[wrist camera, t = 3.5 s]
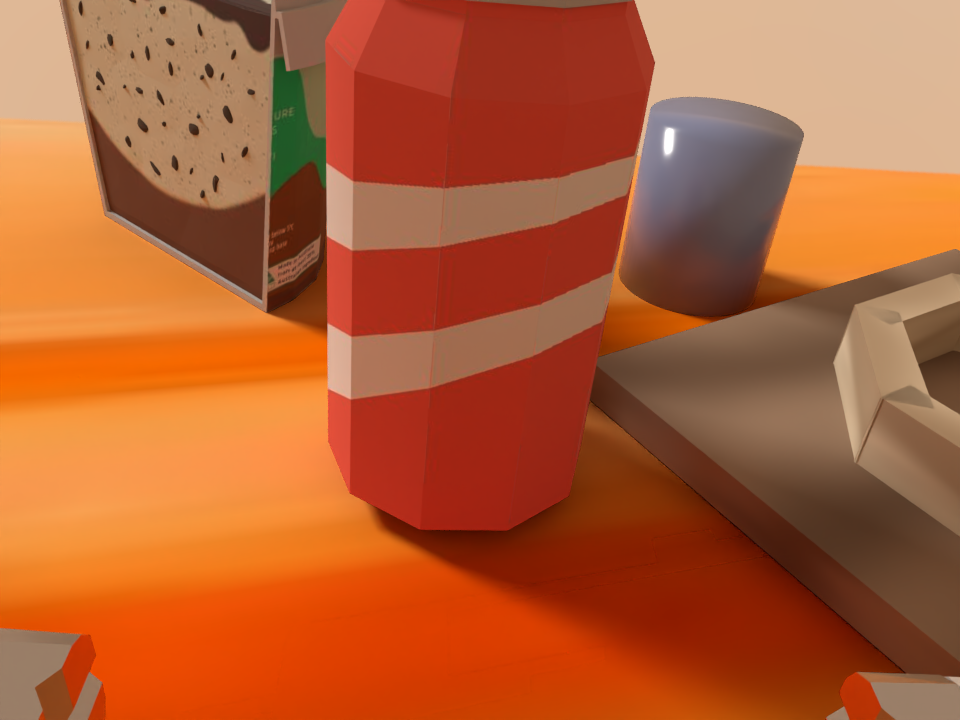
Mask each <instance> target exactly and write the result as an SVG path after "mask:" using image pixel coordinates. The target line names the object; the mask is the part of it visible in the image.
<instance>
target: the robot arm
mask: <svg viewBox="0 0 960 720" xmlns="http://www.w3.org/2000/svg"><path fill="white" fill-rule="evenodd" d="M95 657H96V653H95V650H94V647H93V643H92V640H91V636H90V635H85V634H72V633H58V632H45V631H31V630H18V629H4V628H0V720H105V693H104V688H103V684H102V682H101V681H100V680H98V679H97V678H96V677H95V676H93V675H92V674H91V673H90V672H89V671H90V669H91V666H92V664H93V661H94V659H95ZM839 694H840V697H841V699H842V702H843V704H844V707H842V708H841V709H839V710H837V711H836V712H834V713H832V714H831V715H829V716H827V717H826V719H825V720H960V677H943V676H941V675H929V674H901V673H872V672H855V673H854V674H852V675H850V676H848V677H847V678H846V679H845V681H844V683H843V685H842V687H841V689H840V691H839Z"/></svg>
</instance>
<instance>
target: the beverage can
mask: <svg viewBox="0 0 960 720" xmlns="http://www.w3.org/2000/svg"><path fill="white" fill-rule="evenodd" d="M325 52H326V187H327V322H328V442H329V444H330V447H331V449H332V451H333V454H334V456H335V459H336V461H337V464H338V466H339V468H340V471H341V473H342V476H343V478H344V480H345V483H346V485H347V488H348V490H349V492H350V494H352V495H354V496H356V497H358V498H360V499H362V500H364V501H366V502H367V503H369V504H371V505H373V506H375V507H377V508H379V509H381V510H383V511H385V512H387V513H389V514H391V515H392V516H394V517H396V518H398V519H400V520H402V521H404V522H406V523H408V524H410V525H412V526H414V527H416V528H417V529H419V530H503V531H508V530H509V529H511V528H513V527H515V526H517V525H518V524H520V523H522V522H524V521H526V520H527V519H529V518H531V517H533V516H534V515H536V514H538V513H540V512H542V511H543V510H545V509H547V508H549V507H551V506H552V505H554V504H556V503H558V502H560V501H561V500H563V499H565V498H567V497H568V496H569V494H570V489H571V485H572V481H573V477H574V472H575V468H576V464H577V460H578V455H579V451H580V447H581V442H582V436H583V431H584V426H585V421H586V416H587V411H588V406H589V400H590V395H591V390H592V385H593V380H594V375H595V369H596V364H597V359H598V354H599V349H600V344H601V338H602V333H603V328H604V323H605V318H606V313H607V308H608V302H609V297H610V292H611V287H612V282H613V277H614V271H615V266H616V261H617V256H618V251H619V246H620V240H621V235H622V230H623V225H624V220H625V215H626V210H627V204H628V199H629V194H630V189H631V184H632V179H633V173H634V168H635V163H636V158H637V153H638V148H639V142H640V137H641V132H642V127H643V122H644V116H645V112H646V106H647V101H648V96H649V91H650V85H651V81H652V75H653V70H654V65H655V62H654V58H653V55H652V52H651V49H650V46H649V43H648V40H647V37H646V34H645V31H644V28H643V25H642V22H641V19H640V16H639V13H638V10H637V7H636V4H635V1H634V0H348V1H347V2H346V4H345V6H344V8H343V9H342V11H341V13H340V15H339V17H338V18H337V20H336V22H335V24H334V25H333V27H332V29H331V31H330V32H329V34H328V36H327V38H326V40H325Z"/></svg>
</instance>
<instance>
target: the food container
mask: <svg viewBox="0 0 960 720" xmlns="http://www.w3.org/2000/svg"><path fill="white" fill-rule="evenodd" d="M347 1H348V0H60V5H61V9H62V14H63V19H64V24H65V29H66V34H67V38H68V43H69V48H70V52H71V57H72V62H73V67H74V71H75V76H76V81H77V86H78V90H79V95H80V100H81V105H82V109H83V114H84V119H85V124H86V128H87V133H88V138H89V143H90V147H91V152H92V157H93V162H94V166H95V171H96V176H97V181H98V185H99V190H100V195H101V200H102V204H103V209H104V214H105V216H107V217H109V218H110V219H112V220H114V221H115V222H117V223H119V224H120V225H122V226H124V227H125V228H127V229H129V230H130V231H132V232H133V233H135V234H137V235H138V236H140V237H142V238H143V239H145V240H147V241H148V242H150V243H152V244H153V245H155V246H157V247H158V248H160V249H162V250H163V251H165V252H167V253H168V254H170V255H172V256H173V257H175V258H177V259H178V260H180V261H181V262H183V263H185V264H186V265H188V266H190V267H191V268H193V269H195V270H196V271H198V272H200V273H201V274H203V275H205V276H206V277H208V278H210V279H211V280H213V281H215V282H216V283H218V284H220V285H221V286H223V287H225V288H226V289H228V290H229V291H231V292H233V293H234V294H236V295H238V296H239V297H241V298H243V299H244V300H246V301H248V302H249V303H251V304H253V305H254V306H256V307H258V308H259V309H261V310H263V311H264V312H266V313H268V312H270V311H272V310H274V309H276V308H278V307H280V306H282V305H284V304H286V303H288V302H290V301H292V300H293V299H295V298H296V297H297V296H298V295H299V294H300V293H301V292H302V291H304V290H305V289H306V288H307V287H308V286H309V285H310V284H311V283H313V282H314V281H315V280H316V278H317V275H318V272H319V270H320V267H321V265H322V262H323V259H324V247H325V235H326V223H327V187H326V52H325V40H326V38H327V36H328V34H329V32H330V31H331V29H332V27H333V25H334V24H335V22H336V20H337V18H338V17H339V15H340V13H341V11H342V9H343V8H344V6H345V4H346V2H347Z"/></svg>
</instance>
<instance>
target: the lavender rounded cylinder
mask: <svg viewBox="0 0 960 720" xmlns="http://www.w3.org/2000/svg"><path fill="white" fill-rule="evenodd" d="M803 137H804V133H803V131H802V129H801V128H800V127H799V126H798V125H797V124H795V123H794V122H792V121H791V120H789V119H787V118H786V117H783V116H781V115H779V114H777V113H774V112H772V111H769V110H766V109H763V108H760V107H756V106H753V105H748V104H745V103H740V102H735V101H729V100H722V99H715V98H703V97H680V98H672V99H666V100H662V101H660V102H657V103H656V104H654V105H653V106H652V107H651V109H650V114H649V119H648V124H647V130H646V135H645V139H644V144H643V149H642V155H641V160H640V165H639V170H638V175H637V180H636V185H635V190H634V195H633V200H632V205H631V211H630V216H629V221H628V226H627V231H626V236H625V241H624V246H623V251H622V256H621V261H620V266H619V276H620V279H621V281H622V283H623V284H624V285H625V287H627V288H628V289H629V290H630V291H631V292H632V293H633V294H635V295H636V296H638V297H639V298H641V299H643V300H644V301H646V302H648V303H650V304H653V305H655V306H657V307H660V308H663V309H666V310H670V311H673V312H677V313H682V314H687V315H693V316H704V317H717V316H727V315H732V314H736V313H739V312H742V311H744V310H746V309H748V308H749V307H750V306H751V305H752V304H753V303H754V301H755V298H756V295H757V292H758V288H759V285H760V282H761V278H762V275H763V272H764V268H765V265H766V262H767V258H768V255H769V251H770V248H771V245H772V241H773V238H774V235H775V231H776V228H777V225H778V221H779V218H780V215H781V211H782V208H783V205H784V201H785V198H786V194H787V191H788V188H789V184H790V181H791V178H792V174H793V171H794V168H795V164H796V161H797V157H798V154H799V151H800V147H801V144H802V141H803Z"/></svg>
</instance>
